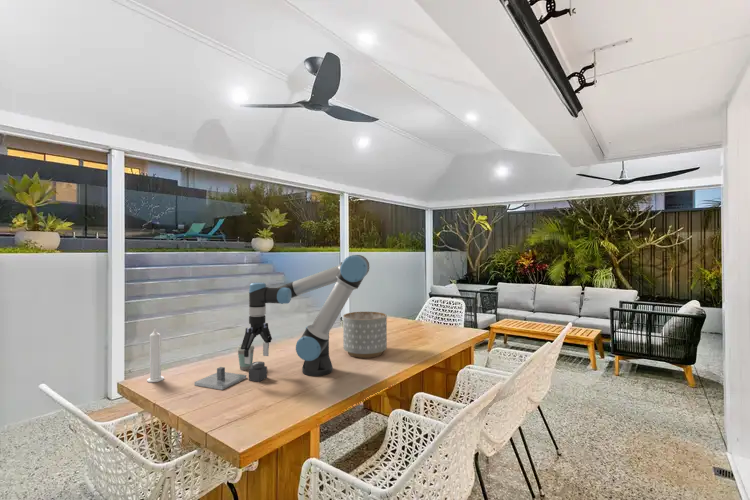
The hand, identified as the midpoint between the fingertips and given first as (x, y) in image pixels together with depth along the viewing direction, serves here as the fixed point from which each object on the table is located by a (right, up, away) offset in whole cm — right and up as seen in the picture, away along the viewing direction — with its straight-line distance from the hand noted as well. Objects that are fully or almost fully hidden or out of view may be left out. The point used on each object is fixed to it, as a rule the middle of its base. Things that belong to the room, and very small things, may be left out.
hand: (256, 359), depth 187 cm
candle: (-48, -10, -1) cm, 49 cm away
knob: (0, -9, 0) cm, 9 cm away
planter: (+51, -9, +44) cm, 68 cm away
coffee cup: (-11, -9, +16) cm, 21 cm away
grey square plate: (-16, -9, -3) cm, 19 cm away
